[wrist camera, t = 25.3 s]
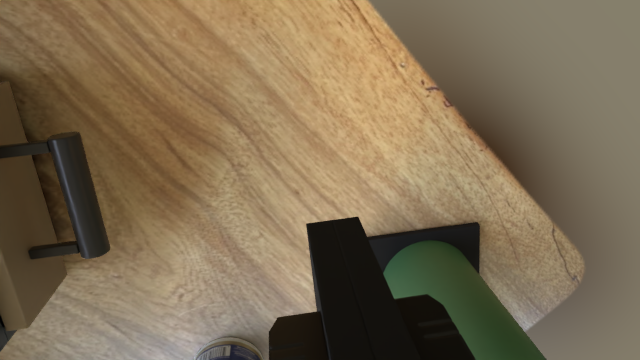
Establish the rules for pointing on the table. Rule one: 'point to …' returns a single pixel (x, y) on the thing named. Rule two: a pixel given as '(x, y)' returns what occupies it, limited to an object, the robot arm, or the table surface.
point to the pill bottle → (228, 350)
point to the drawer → (40, 216)
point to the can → (460, 299)
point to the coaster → (456, 235)
